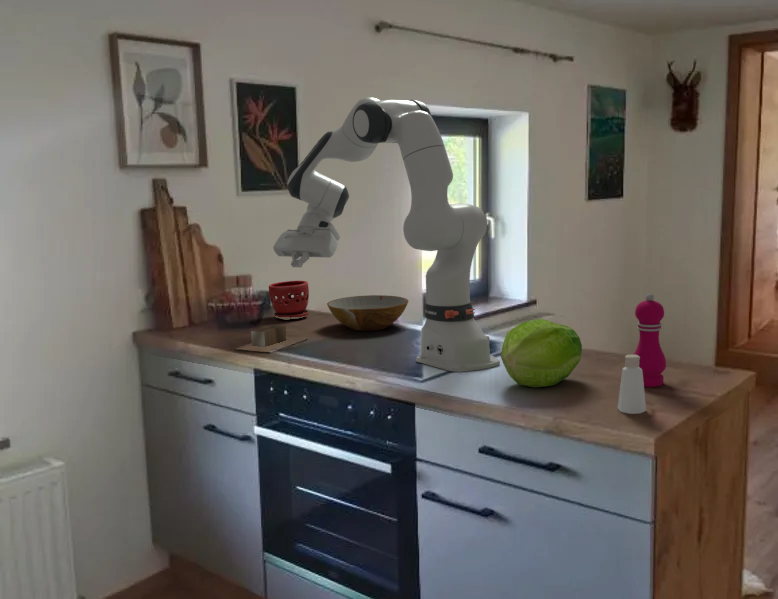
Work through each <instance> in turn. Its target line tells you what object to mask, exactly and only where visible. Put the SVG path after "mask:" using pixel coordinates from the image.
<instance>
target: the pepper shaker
mask: <svg viewBox="0 0 778 599" xmlns="http://www.w3.org/2000/svg"><path fill="white" fill-rule="evenodd" d="M624 360H625V361H624V362H625V363H624V364H625V366H624V367H622V369H621V370H622V371H621V376H620V384H619V385H620V387H619V393H618V400H617V410H619V411H620V413H624V414H628V415H638V414H639V415H640V414H642V413H644V412H646V411H647V406H646V394H645V387H644V382H643V372H642V369H641V368H640V367H639V360H640V357H639V356H638V355H634V354H626V355H625V356H624Z"/></svg>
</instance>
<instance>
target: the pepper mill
mask: <svg viewBox="0 0 778 599" xmlns="http://www.w3.org/2000/svg"><path fill="white" fill-rule="evenodd" d="M634 314H635V315H634V316H635V318H636V319H637V320H638V322H637V324H636V325H637V327H636V328H637V330H638V331H639V339H638V343H637V344H638V345H637V347H636V349H635V351H634V353H633V355H638V356H639V357H640V360H639V367H640V368H641V369H642V372H643V382H644V388H646V387H647V388H654V387H655V388H656V387H657V388H658V387H660V386H662V385H663V384H664V374H662V373H663V372H664V371H665V370H666V367H667V360H666V356H665V354H664V352H663V349H662V347H661V344H660V331H661V330H662V325H663V324H662V323H661V321H662V320H663V318H664V316H665V309H664V306H663V305H662V304H661V302H658V301H656V300H655V296H654V294H653V293H647V294H646V295H645V300H643V301H641V302H639V303H638V304H637V306H636V307H635V310H634Z"/></svg>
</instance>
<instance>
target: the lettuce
mask: <svg viewBox="0 0 778 599" xmlns="http://www.w3.org/2000/svg"><path fill="white" fill-rule="evenodd" d="M502 343H503V344H502V346H501V347H502V348H501V353H500V359H501V361H502V363H503V366H504V367H505V370H506V372H507V374H508V376H509V377H510V378H511V379H512V380H513V381H514V382H515V383H516V384H517V385H519V386H525V387H528V388H529V387H530V388H542V387H543V388H544V387H550V386H555V385H557V384H558V383H560V382H561V381H563V380H565V379H566V378H568V377H569V376H570V375H571V373H572V372H573V371H574V370H575V368H576V367H577V366H578V365H579V363H580V362H581V359H582V353H583V352H582V350H583V345H582V342H581V338H580V336H579V334H578V333H577V332H576V331H575V329H573V328H571V327H570V326H568V325H565V324H560V323H559V324H558V323H556V322H553V321H551V320H548V319H545V318H538V319H532V320H528V321H524V322H520V323H519V324H517V325H516V326H515V327H513V328H511V329H510V330H508V331H507V332H506V335H505V338H504V340H503V342H502Z"/></svg>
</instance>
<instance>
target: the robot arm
mask: <svg viewBox="0 0 778 599" xmlns="http://www.w3.org/2000/svg"><path fill="white" fill-rule="evenodd" d="M442 137H443V136H442V134H441V132H440V129H439V128H438V126H437V124H436V122H435V120H434V118H433V117H432V113H431V110H430V109H429V107H428V105H427V104H425V102H422V101H419V100H415V99H408V100H405V99H403V100H402V99H382V100H380V99H379V98H375V97H371V96H366V97H362V98H361V99H359V100H357V102H356V104H354V106H352V108H351V110H350V112H349V113H348V115H347V116H346V118H345V120H344V122H343V123H342V126H340V127H339V128H338V129H336V130H334V131H333V130H332V131H327V132H326V133H324V134H323V135H322V136H321V138H319V140H318V141H317V142H316V144H315V145H314V146H313V148H311V150H310V151H309V153H308V154H307V155H306V156H305V157H304V158H303V160H302V161H301V163H300V164H299V165H297V167H296V168H295V169H294V170H293V171H292V172H291V174H290V175H289V177H288V180H287V185H286V188H287V191H288V192H289V195H290V196H291V198H294V199H297V200H300V201H303V202H305V203H306V204H307V208H306V212H305V213H303V215H302V217H301V219H300V221H299V223H298V226H297V227H296V229H287V230H286V231H283V232H282V233H281V234H280V236H278V238H277V240H276V241H275V242H274V245H273V251H274V253H275V254H276V255H277V256H278V257H287V258H288V257H289V258H290V257H291V258H292V259H291V260H292V261H291V262H290V266H291V267H292V268H302V267H303V265H304V264H305V263H306V262H307V261H308V260H309V259H310V258H331V257H333V256H334V255H335V253H336V250H337V247H338V245H339V240H340V238H341V236H340V234H339V232H338V230H337V229H336V227H335V225H334V224H333V223H331V222H332V221H333V219H335V218H338V217H339V216H341V215H342V214H343V212H344V209H345V206H346V204H347V202H348V200H349V198H350V194H349V191H348V188H347V187H346V185H344V184H343V183H341V182H339V181H337V180H335V179H334V178H333V179H332V178H330V177H329V176H327V175H324V174H323V173H320V172H318V171H317V170H316V168H317V167H318V166H319V164H320V163H321V162H322V161H323V160H326V159H332V160H333V159H334V160H340V161H344V162H350V163H351V162H352V163H353V162H354V163H355V162H356V163H357V162H361V161H364V160H366V159H369V157H370V156H371V155H372V154H373V153H374V152H375V150H376V149H377V147H378V144H381V143H382V144H384V143H385V144H391V143H392V144H397V145H398V148H399V150H400V154H401V157H402V160H403V164H404V168H405V171H406V175H407V179H408V183H409V186H410V192H411V196H410V197H411V199H410V208H409V212H408V214H407V216H406V217H405V219H404V222H403V226H402V227H403V235H404V236H403V237H404V239H405V242H407V245H408V246H410V247H411V248H412V249H415V250H421V251H426V252H435V251H436V255H435V258H434V261H433V262H432V264H431V265H430V267H429V268H428V269H427V271H426V273H425V294H426V296H425V298H426V302H425V304H424V316H425V317H424V318H426V320H425V322H424V324H423V326H422V327H421V330H420V331H421V332H420V347H419V348H420V350H419V351H420V352H419V355H417V356H416V359H415V361H416V362H417V363H421V364H425V365H428V366H431V367H435V368H438V369H441V370H445V371H449V372H470V371H478V370H484V369H490V368H494V367H496V366H499V365H500V364H501V360H500V359H498V358H496V357H495V356H493V355H492V354H491V350H490V347H491V346H490V340H491V339H490V336H489V335H488V334H485V333H484V332H483V330H482V329H481V327H480V326H479V325H478V323H477V321H476V319H475V318H474V317H475V313H476V312H474V311H475V308H474V307H473V304H472V302H471V301H470V300H471V298H470V296H471V294H470V292H471V291H470V289H471V288H470V286H471V284H470V283H471V281H470V280H471V267H472V263H473V259H474V255H475V253H476V250H477V247H478V245H479V243H480V241H481V240H482V239H483V237H484V236H485V234H486V232H487V227H488V221H487V220H488V219H487V216H486V214H485V213H484V211H483V210H482V209H481V208H480V207H478V206H477V205H472V204H469V203H462V202H461V203H453V204H451V203H449V199H448V188H449V186H450V184H452V182H453V179H454V172H453V170H452V166H451V163H450V159H449V156H448V152H447V149H446V147H445V143H444V140H443V138H442Z"/></svg>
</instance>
